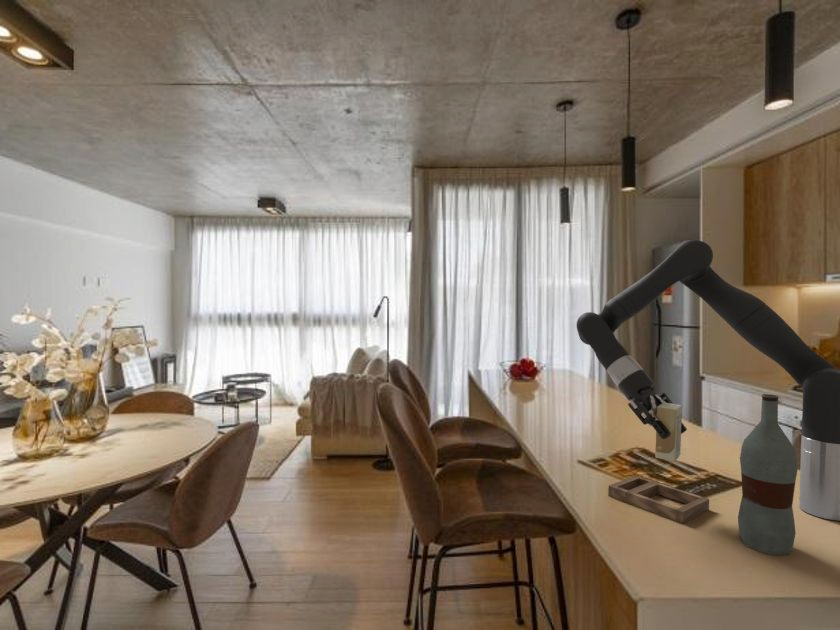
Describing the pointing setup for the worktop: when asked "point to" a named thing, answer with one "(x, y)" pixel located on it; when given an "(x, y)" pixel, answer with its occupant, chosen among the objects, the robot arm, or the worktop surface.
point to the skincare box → (672, 421)
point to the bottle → (768, 485)
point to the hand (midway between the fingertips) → (675, 434)
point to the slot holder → (640, 493)
